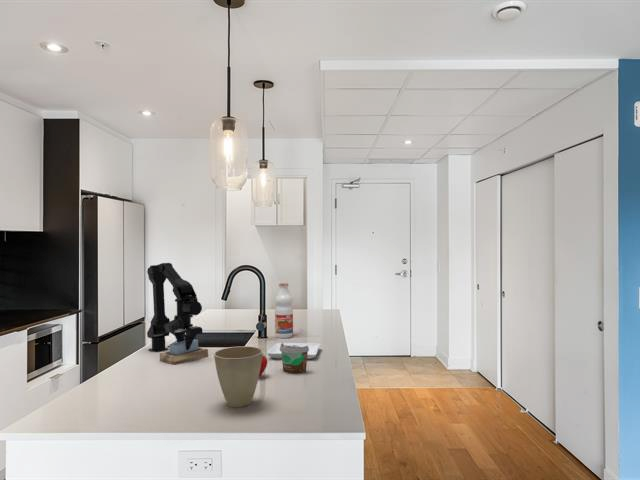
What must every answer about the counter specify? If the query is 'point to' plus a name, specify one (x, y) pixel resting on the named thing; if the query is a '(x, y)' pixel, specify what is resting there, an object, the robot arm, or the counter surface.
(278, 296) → the fruit juice
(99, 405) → the counter surface
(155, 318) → the robot arm
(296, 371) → the food container
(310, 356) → the salad plate
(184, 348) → the fuselage block
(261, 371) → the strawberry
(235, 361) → the plant pot
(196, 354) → the wooden tray
